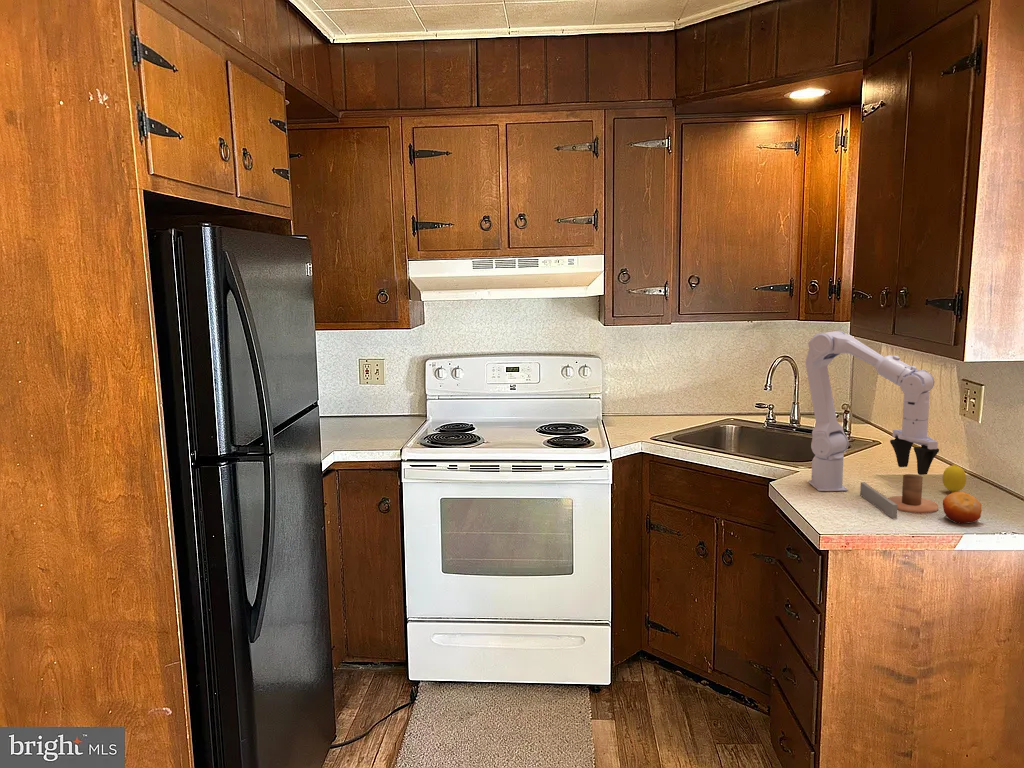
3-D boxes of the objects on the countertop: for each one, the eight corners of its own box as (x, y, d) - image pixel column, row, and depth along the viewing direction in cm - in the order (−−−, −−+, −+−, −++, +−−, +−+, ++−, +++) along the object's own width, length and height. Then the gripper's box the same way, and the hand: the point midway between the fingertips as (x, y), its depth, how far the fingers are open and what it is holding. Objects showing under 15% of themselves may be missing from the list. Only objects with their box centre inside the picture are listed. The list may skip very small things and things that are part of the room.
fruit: (961, 507, 183) (974, 485, 178) (978, 532, 177) (992, 510, 172) (929, 508, 183) (941, 486, 178) (945, 533, 177) (958, 511, 172)
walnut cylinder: (898, 500, 192) (899, 474, 191) (913, 499, 192) (914, 473, 191) (909, 506, 187) (910, 479, 186) (925, 504, 188) (926, 478, 187)
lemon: (943, 489, 203) (945, 461, 202) (966, 492, 200) (968, 463, 199) (939, 493, 199) (941, 465, 198) (963, 497, 196) (965, 468, 195)
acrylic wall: (860, 494, 200) (860, 482, 200) (863, 494, 200) (864, 482, 200) (892, 518, 181) (893, 504, 180) (896, 518, 181) (897, 504, 180)
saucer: (877, 499, 196) (877, 496, 196) (924, 498, 195) (924, 495, 195) (897, 513, 184) (898, 510, 184) (947, 513, 184) (947, 510, 183)
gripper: (882, 414, 193) (880, 464, 195) (920, 424, 179) (917, 478, 181) (907, 412, 194) (904, 462, 196) (946, 423, 180) (943, 477, 182)
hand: (912, 470), depth 189 cm, fingers open, 7 cm apart
